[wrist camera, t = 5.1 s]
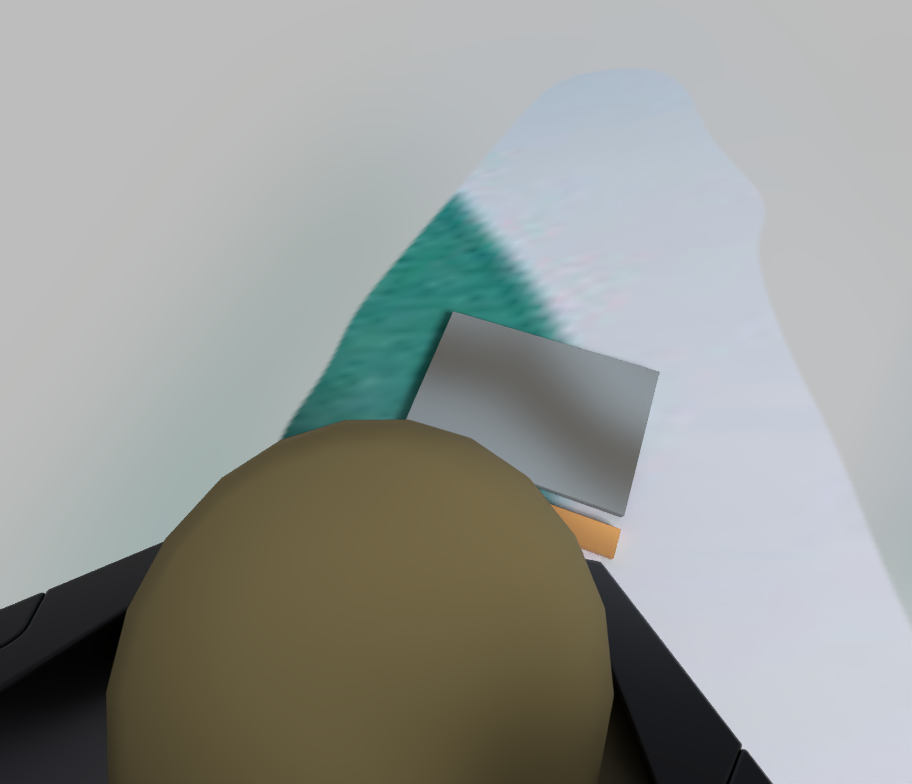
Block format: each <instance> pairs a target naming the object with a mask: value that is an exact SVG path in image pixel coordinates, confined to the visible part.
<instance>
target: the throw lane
mask: <svg viewBox="0 0 912 784" xmlns="http://www.w3.org/2000/svg"><path fill="white" fill-rule="evenodd" d="M658 376H659V371H655V370H652V369H648V368H645V367H641V366H638V365H635V364H631V363H628V362H624V361H621V360H618V359H614V358H611V357H607V356H604V355H601V354H597V353H594V352H590V351H587V350H583V349H580V348H577V347H573V346H570V345H566V344H563V343H560V342H556V341H553V340H549V339H546V338H542V337H539V336H536V335H532V334H529V333H525V332H522V331H519V330H515V329H512V328H508V327H505V326H502V325H498V324H495V323H491V322H488V321H484V320H481V319H478V318H474V317H471V316H467V315H464V314H461V313H457V312H454V311H453V313H452V315H451V318H450V320H449V322H448V325H447V327H446V329H445V331H444V334H443V336H442V338H441V340H440V343H439V345H438V347H437V350H436V352H435V354H434V356H433V359H432V361H431V363H430V366H429V368H428V370H427V372H426V375H425V377H424V379H423V382H422V384H421V386H420V388H419V391H418V393H417V395H416V398H415V400H414V402H413V404H412V407H411V409H410V411H409V414H408V416H407V418H406V419H409V420H413V421H416V422H419V423H423V424H426V425H429V426H433V427H436V428H439V429H443V430H446V431H449V432H453V433H456V434H459V435H463V436H466V437H469V438H472V439H473V440H475V441H476V442H478V443H479V444H481V445H482V446H484V447H485V448H487V449H488V450H489V451H491V452H492V453H494V454H495V455H497V456H498V457H500V458H501V459H503V460H504V461H506V462H507V463H509V464H510V465H512V466H513V467H515V468H516V469H517V470H519V471H520V472H522V473H523V474H525V475H526V476H528V477H529V478H530V479H531V481H532V482H533V483H534V484H535V486H536V487H537V488H539V489H542V490H545V491H548V492H551V493H554V494H556V495H559V496H562V497H565V498H568V499H571V500H573V501H576V502H579V503H582V504H585V505H588V506H591V507H593V508H596V509H599V510H602V511H605V512H608V513H610V514H613V515H616V516H619V517H623V516H624V514H625V510H626V506H627V502H628V498H629V494H630V490H631V486H632V482H633V477H634V473H635V469H636V465H637V461H638V457H639V453H640V449H641V445H642V441H643V437H644V433H645V429H646V424H647V420H648V416H649V412H650V408H651V404H652V400H653V396H654V392H655V388H656V384H657V380H658ZM551 506H552V507H553V508H554V509H555V511H556V512H557V513H558V514H559V516H560V517H561V518H562V519H563V521H564V522H565V523H566V524H567V526H568V527H569V528H570V529H571V531H572V532H573V533H574V534H575V536H576V538H577V540H578V543H579V545H580V548H582V549H584V550H587V551H590V552H592V553H595V554H598V555H601V556H603V557H606V558H609V559H613V558H614V555H615V551H616V547H617V543H618V539H619V535H620V530H621V529H618V528H616V527H613V526H610V525H607V524H604V523H602V522H599V521H596V520H593V519H590V518H588V517H585V516H582V515H579V514H576V513H574V512H571V511H568V510H565V509H562V508H559V507H557V506H554V505H551Z"/></svg>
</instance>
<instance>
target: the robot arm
mask: <svg viewBox="0 0 912 784" xmlns="http://www.w3.org/2000/svg"><path fill="white" fill-rule="evenodd" d="M162 544H163V542H162V543H160V544H157V545H155V546H152V547H150V548H148V549H145V550H143V551H140V552H138V553H136V554H133V555H131V556H129V557H126V558H123V559H121V560H119V561H116V562H114V563H111V564H109V565H107V566H105V567H102V568H100V569H97V570H95V571H92V572H90V573H87V574H85V575H83V576H80V577H78V578H75V579H73V580H71V581H68V582H66V583H63V584H61V585H59V586H56V587H54V588H51V589H49V590H48V591H47V592H46V594H45V593H39V594H37V595H34V596H32V597H30V598H27V599H25V600H22V601H20V602H18V603H15V604H13V605H10V606H8V607H5V608H3V609H0V784H108V765H107V710H106V691H107V687H108V683H109V679H110V675H111V671H112V667H113V663H114V659H115V656H116V652H117V648H118V644H119V640H120V636H121V632H122V628H123V624H124V620H125V616H126V612H127V609H128V607H129V605H130V603H131V601H132V600H133V598H134V596H135V594H136V592H137V590H138V589H139V587H140V585H141V583H142V581H143V579H144V577H145V576H146V574H147V572H148V570H149V568H150V566H151V565H152V563H153V561H154V559H155V557H156V555H157V553H158V552H159V550H160V548H161V546H162ZM585 560H586V563H587V565H588V568H589V570H590V573H591V575H592V577H593V580H594V582H595V585H596V587H597V590H598V592H599V595H600V597H601V600H602V602H603V605H604V607H605V613H606V623H607V633H608V642H609V652H610V662H611V671H612V681H613V691H614V697H613V703H612V708H611V714H610V719H609V725H608V730H607V735H606V741H605V746H604V752H603V757H602V763H601V768H600V774H599V779H598V784H773V783H772V782H771V781H770V780H769V778H768V777H767V776H766V774H765V773H764V772H763V771H762V769H761V768H760V767H759V765H758V764H757V763H756V761H755V760H754V759H753V758H752V756H751V755H750V754H749V752H748V751H747V750H745V749H742V750H741V748H742V744H741V742H740V741H739V740H738V739H737V737H736V736H735V735H734V733H733V732H732V731H731V729H730V728H729V727H728V726H727V724H726V723H725V722H724V720H723V719H722V718H721V717H720V715H719V714H718V713H717V711H716V710H715V709H714V707H713V706H712V705H711V704H710V702H709V701H708V700H707V698H706V697H705V696H704V695H703V693H702V692H701V691H700V689H699V688H698V687H697V685H696V684H695V683H694V682H693V680H692V679H691V678H690V676H689V675H688V674H687V673H686V671H685V670H684V669H683V667H682V666H681V665H680V663H679V662H678V661H677V660H676V658H675V657H674V656H673V654H672V653H671V652H670V651H669V649H668V648H667V647H666V645H665V644H664V643H663V641H662V640H661V639H660V638H659V636H658V635H657V634H656V632H655V631H654V630H653V629H652V627H651V626H650V625H649V623H648V622H647V621H646V619H645V618H644V617H643V616H642V614H641V613H640V612H639V610H638V609H637V608H636V607H635V605H634V604H633V603H632V601H631V600H630V599H629V597H628V596H627V595H626V594H625V592H624V591H623V590H622V588H621V587H620V586H619V585H618V583H617V582H616V581H615V579H614V578H613V577H612V575H611V574H610V573H609V572H608V570H607V569H606V568H605V566H604V565H603V564H602V563H601V562H598V561H594V560H588V559H585Z"/></svg>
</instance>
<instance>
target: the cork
mask: <svg viewBox="0 0 912 784" xmlns="http://www.w3.org/2000/svg"><path fill="white" fill-rule="evenodd" d="M613 697H614V691H613V681H612V671H611V662H610V652H609V642H608V633H607V623H606V613H605V607H604V605H603V602H602V600H601V597H600V595H599V592H598V590H597V587H596V585H595V582H594V580H593V577H592V575H591V573H590V570H589V568H588V565H587V563H586V560H585V558H584V555H583V553H582V550H581V548H580V545H579V543H578V540H577V538H576V536H575V534H574V533H573V532H572V531H571V529H570V528H569V527H568V526H567V524H566V523H565V522H564V521H563V519H562V518H561V517H560V516H559V514H558V513H557V512H556V511H555V509H554V508H553V507H552V506H551V504H550V503H549V502H548V501H547V499H546V498H545V497H544V496H543V494H542V493H541V492H540V491H539V489H538V488H537V487H536V486H535V484H534V483H533V482H532V481H531V479H530V478H529V477H528V476H526V475H525V474H523V473H522V472H520V471H519V470H517V469H516V468H515V467H513V466H512V465H510V464H509V463H507V462H506V461H504V460H503V459H501V458H500V457H498V456H497V455H495V454H494V453H492V452H491V451H489V450H488V449H487V448H485V447H484V446H482V445H481V444H479V443H478V442H476V441H475V440H473V439H472V438H469V437H466V436H463V435H459V434H456V433H453V432H449V431H446V430H443V429H439V428H436V427H433V426H429V425H426V424H423V423H419V422H416V421H413V420H409V419H405V420H344V421H340V422H337V423H334V424H331V425H327V426H324V427H321V428H318V429H314V430H311V431H308V432H305V433H301V434H298V435H295V436H292V437H288V438H285V439H282V440H280V441H278V442H277V443H275V444H274V445H272V446H271V447H269V448H268V449H266V450H264V451H263V452H261V453H260V454H258V455H257V456H255V457H254V458H252V459H251V460H249V461H247V462H246V463H244V464H243V465H241V466H240V467H238V468H237V469H235V470H233V471H232V472H230V473H229V474H227V475H226V476H224V477H222V478H221V479H220V480H219V481H218V483H217V484H216V485H215V486H214V487H213V488H212V489H211V490H210V491H209V492H208V493H207V494H206V496H205V497H204V498H203V499H202V500H201V501H200V502H199V503H198V504H197V505H196V506H195V508H194V509H193V510H192V511H191V512H190V513H189V514H188V515H187V516H186V517H185V518H184V520H183V521H182V522H181V523H180V524H179V525H178V526H177V527H176V528H175V529H174V530H173V532H171V534H170V535H169V536H168V537H167V538H166V539H165V541H164V542H163V544H162V546H161V548H160V550H159V552H158V553H157V555H156V557H155V559H154V561H153V563H152V565H151V566H150V568H149V570H148V572H147V574H146V576H145V577H144V579H143V581H142V583H141V585H140V587H139V589H138V590H137V592H136V594H135V596H134V598H133V600H132V601H131V603H130V605H129V607H128V609H127V612H126V616H125V620H124V624H123V628H122V632H121V636H120V640H119V644H118V648H117V652H116V656H115V659H114V663H113V667H112V671H111V675H110V679H109V683H108V687H107V691H106V710H107V765H108V784H598V779H599V774H600V768H601V763H602V757H603V752H604V746H605V741H606V735H607V730H608V725H609V719H610V714H611V708H612V703H613Z"/></svg>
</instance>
